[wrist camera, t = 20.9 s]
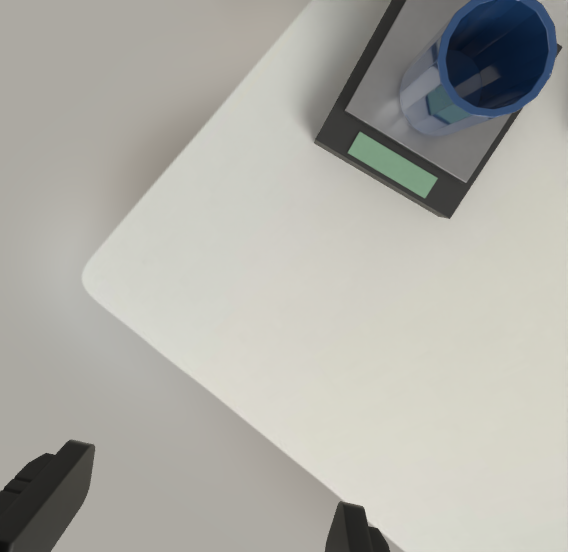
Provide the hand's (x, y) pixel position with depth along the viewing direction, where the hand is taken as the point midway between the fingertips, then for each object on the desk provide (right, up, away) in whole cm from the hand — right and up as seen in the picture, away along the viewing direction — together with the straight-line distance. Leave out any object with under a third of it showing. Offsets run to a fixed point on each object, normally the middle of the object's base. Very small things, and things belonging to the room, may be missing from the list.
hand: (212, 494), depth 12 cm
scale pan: (+16, +23, +20) cm, 34 cm away
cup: (+15, +22, +19) cm, 33 cm away
